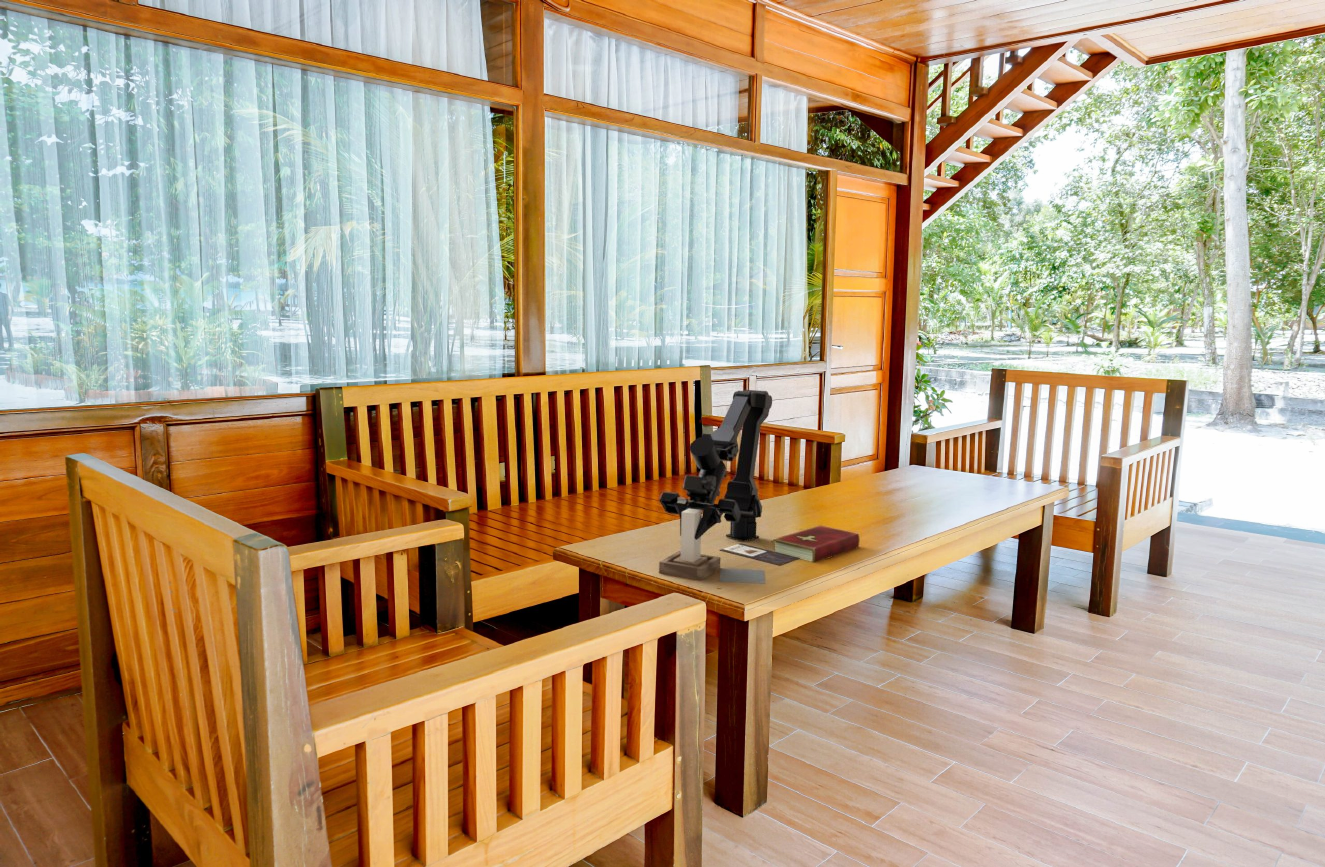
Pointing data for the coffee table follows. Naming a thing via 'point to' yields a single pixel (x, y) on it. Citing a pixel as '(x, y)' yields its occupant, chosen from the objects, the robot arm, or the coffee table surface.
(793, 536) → the hardcover book
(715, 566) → the brown square tray
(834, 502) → the coffee table surface
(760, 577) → the mat
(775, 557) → the chocolate bar
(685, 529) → the grey tall square post
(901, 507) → the coffee table surface
